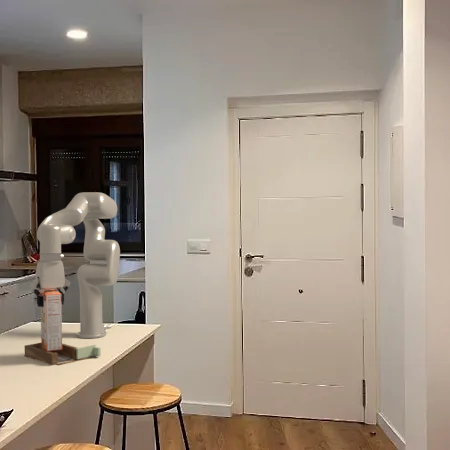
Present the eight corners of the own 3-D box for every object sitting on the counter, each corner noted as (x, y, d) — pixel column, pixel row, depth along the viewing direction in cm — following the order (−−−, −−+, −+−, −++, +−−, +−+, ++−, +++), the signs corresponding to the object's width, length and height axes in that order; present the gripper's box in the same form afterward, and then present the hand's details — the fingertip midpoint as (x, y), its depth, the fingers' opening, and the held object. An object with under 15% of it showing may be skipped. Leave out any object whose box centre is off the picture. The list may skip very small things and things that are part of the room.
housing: (66, 347, 229) (66, 337, 229) (97, 356, 215) (97, 345, 215) (24, 356, 216) (24, 345, 216) (54, 366, 202) (54, 354, 202)
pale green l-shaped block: (94, 354, 216) (94, 344, 216) (100, 356, 213) (100, 346, 213) (76, 358, 210) (76, 348, 210) (82, 360, 207) (82, 350, 207)
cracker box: (40, 343, 218) (39, 289, 218) (56, 342, 221) (56, 288, 220) (45, 352, 206) (45, 294, 205) (62, 350, 208) (62, 293, 208)
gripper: (65, 256, 222) (65, 302, 222) (23, 258, 209) (23, 307, 209) (76, 257, 217) (76, 303, 217) (34, 259, 204) (34, 309, 204)
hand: (50, 305), depth 213 cm, fingers closed on cracker box, 7 cm apart
